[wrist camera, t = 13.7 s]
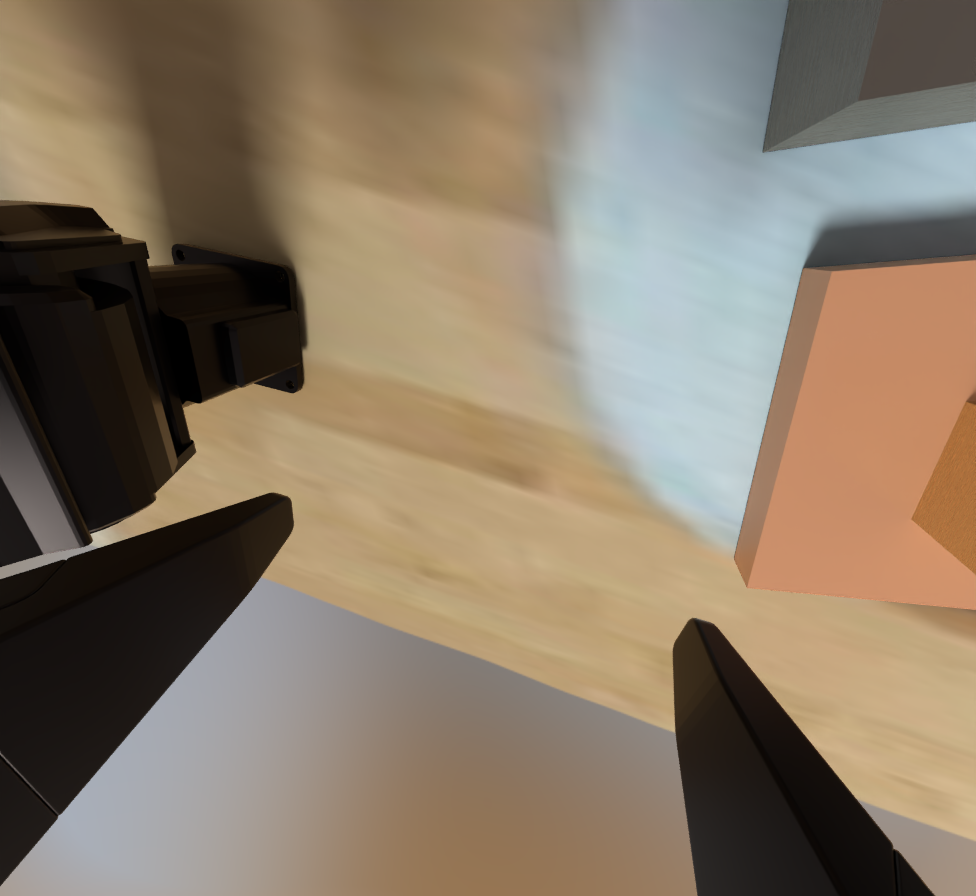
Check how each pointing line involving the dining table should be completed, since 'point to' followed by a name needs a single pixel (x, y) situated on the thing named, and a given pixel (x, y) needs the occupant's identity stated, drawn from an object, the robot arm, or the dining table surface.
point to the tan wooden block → (954, 492)
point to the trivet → (863, 434)
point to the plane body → (872, 70)
